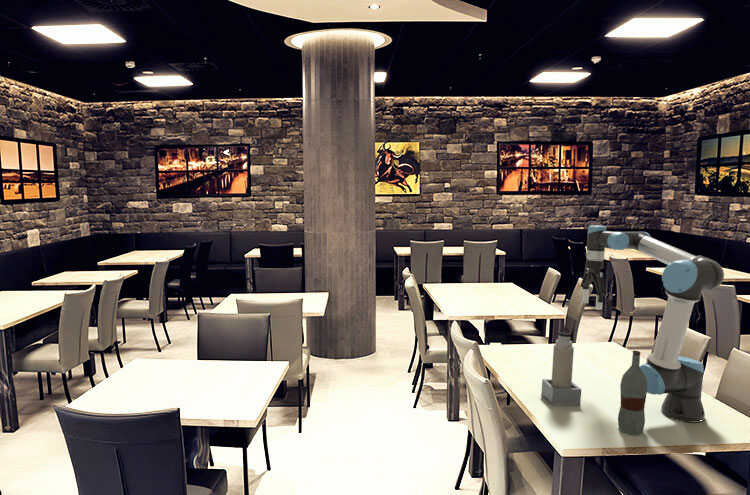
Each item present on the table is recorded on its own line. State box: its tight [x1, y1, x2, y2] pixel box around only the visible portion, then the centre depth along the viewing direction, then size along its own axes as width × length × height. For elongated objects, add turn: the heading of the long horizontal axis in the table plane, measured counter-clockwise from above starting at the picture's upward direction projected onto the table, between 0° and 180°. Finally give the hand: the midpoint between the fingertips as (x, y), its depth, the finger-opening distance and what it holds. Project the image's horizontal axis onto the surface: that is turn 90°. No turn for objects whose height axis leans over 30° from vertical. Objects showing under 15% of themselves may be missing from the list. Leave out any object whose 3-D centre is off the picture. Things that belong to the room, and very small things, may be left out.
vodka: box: [617, 350, 648, 436], centre depth 200 cm, size 9×9×30 cm
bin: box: [541, 378, 582, 407], centre depth 230 cm, size 12×12×7 cm
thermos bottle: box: [551, 331, 575, 388], centre depth 229 cm, size 8×8×28 cm
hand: (591, 306), depth 246 cm, fingers open, 13 cm apart
